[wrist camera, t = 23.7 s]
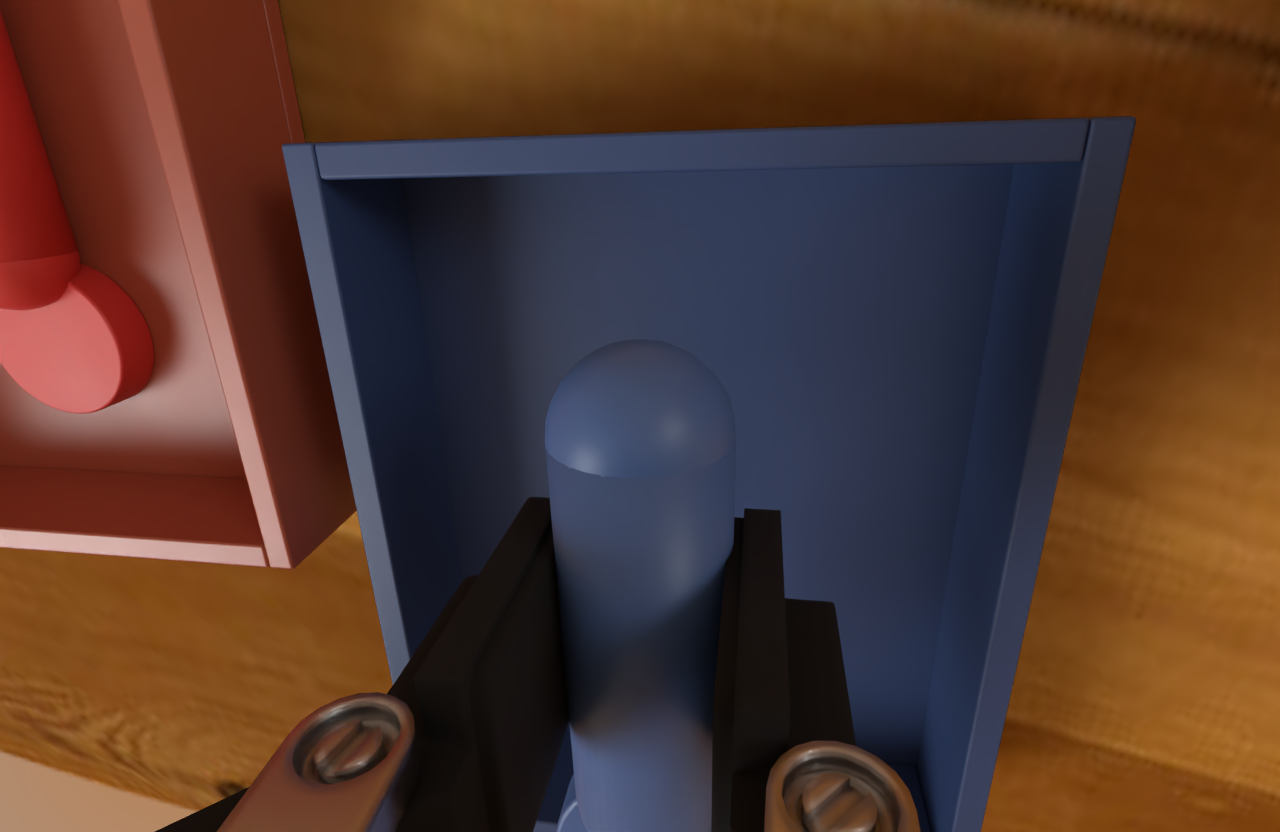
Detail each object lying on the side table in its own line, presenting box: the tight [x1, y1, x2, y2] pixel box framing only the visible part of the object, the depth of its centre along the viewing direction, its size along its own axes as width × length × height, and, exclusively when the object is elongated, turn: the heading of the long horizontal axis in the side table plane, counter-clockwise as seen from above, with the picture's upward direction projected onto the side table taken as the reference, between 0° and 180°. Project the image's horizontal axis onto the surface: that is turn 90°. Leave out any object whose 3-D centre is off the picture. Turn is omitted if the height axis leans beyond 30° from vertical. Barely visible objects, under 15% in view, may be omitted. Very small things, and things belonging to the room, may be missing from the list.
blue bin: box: [282, 116, 1136, 832], centre depth 15 cm, size 13×16×4 cm
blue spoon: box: [545, 339, 736, 832], centre depth 10 cm, size 11×4×2 cm, turn 2°
